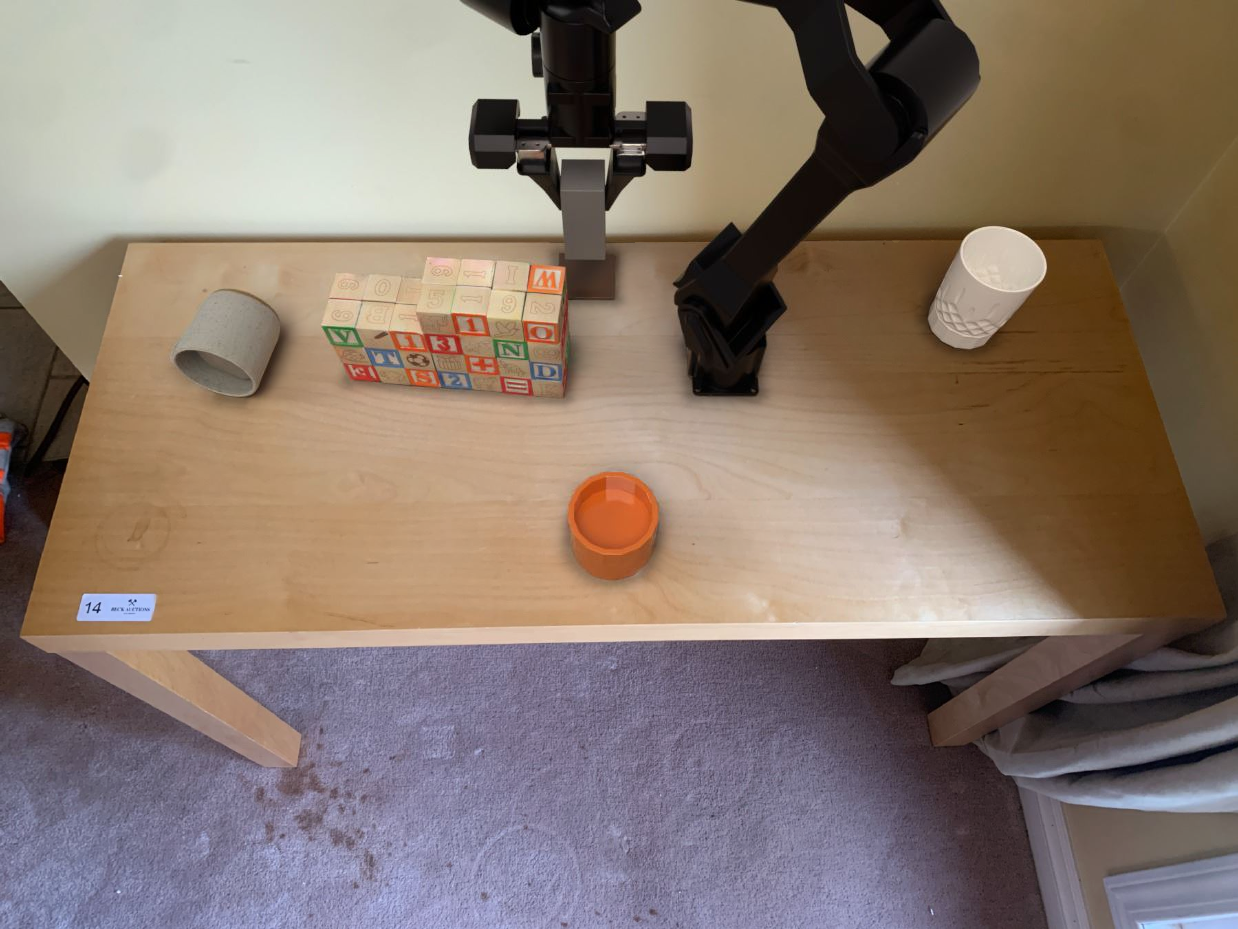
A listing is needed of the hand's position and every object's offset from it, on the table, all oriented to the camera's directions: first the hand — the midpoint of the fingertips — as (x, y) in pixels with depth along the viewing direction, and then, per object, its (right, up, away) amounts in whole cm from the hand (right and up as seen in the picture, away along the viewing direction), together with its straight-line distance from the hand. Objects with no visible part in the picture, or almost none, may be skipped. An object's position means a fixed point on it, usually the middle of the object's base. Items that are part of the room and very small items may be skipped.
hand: (584, 207), depth 74 cm
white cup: (+39, -10, +7) cm, 41 cm away
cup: (+3, -31, -4) cm, 32 cm away
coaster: (0, -5, +9) cm, 10 cm away
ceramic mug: (-35, -15, +4) cm, 38 cm away
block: (0, -2, +4) cm, 5 cm away
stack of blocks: (-12, -15, +4) cm, 19 cm away
